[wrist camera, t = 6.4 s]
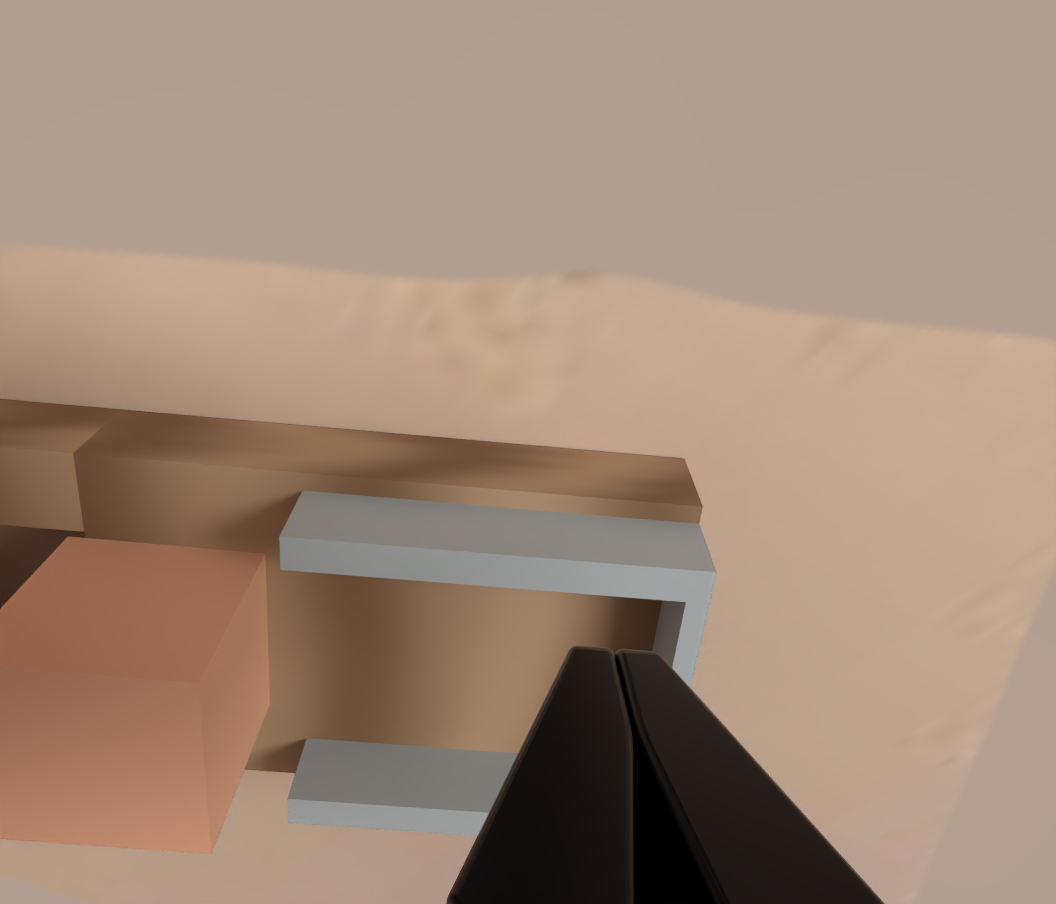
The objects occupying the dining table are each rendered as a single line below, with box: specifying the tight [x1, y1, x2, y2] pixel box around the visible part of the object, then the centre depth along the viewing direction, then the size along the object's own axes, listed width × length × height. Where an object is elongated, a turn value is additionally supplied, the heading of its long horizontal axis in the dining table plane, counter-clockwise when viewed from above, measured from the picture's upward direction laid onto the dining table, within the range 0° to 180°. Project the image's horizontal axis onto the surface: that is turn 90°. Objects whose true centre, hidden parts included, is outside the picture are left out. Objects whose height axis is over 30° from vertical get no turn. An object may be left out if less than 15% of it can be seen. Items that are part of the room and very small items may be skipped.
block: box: [0, 536, 270, 854], centre depth 19 cm, size 4×4×4 cm
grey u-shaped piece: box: [279, 491, 716, 836], centre depth 20 cm, size 9×8×2 cm
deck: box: [0, 399, 703, 773], centre depth 22 cm, size 20×9×2 cm, turn 84°
